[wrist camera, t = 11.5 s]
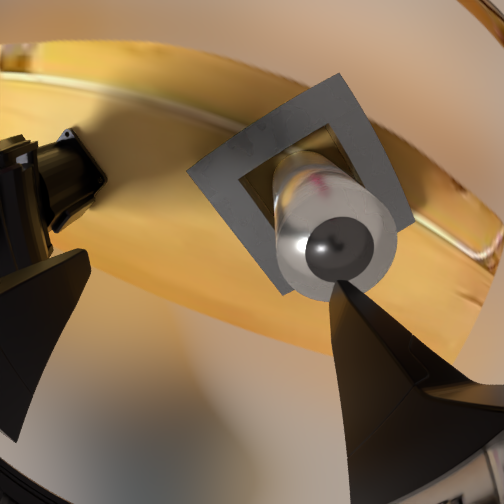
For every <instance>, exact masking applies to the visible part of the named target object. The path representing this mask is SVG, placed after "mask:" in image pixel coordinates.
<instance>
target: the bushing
mask: <svg viewBox="0 0 504 504" xmlns="http://www.w3.org/2000/svg"><path fill="white" fill-rule="evenodd" d="M272 186H273V201H274V218H275V235H276V254H277V261H278V266H279V268H280V271H281V273H282V275H283V277H284V278H285V280H286V281H287V283H288V284H289V285H290V286H291V287H292V288H293V289H295V290H296V291H297V292H299V293H300V294H302V295H304V296H306V297H308V298H311V299H314V300H318V301H324V302H329V301H330V297H331V294H332V290H333V287H334V284H335V281H336V280H348V281H349V282H350V283H352V284H353V285H354V286H355V287H357V288H358V289H359V290H360V291H362V292H363V293H365V292H367V291H368V290H370V289H371V288H372V287H374V286H375V285H376V284H377V283H378V282H379V281H380V280H381V279H382V278H383V277H384V275H385V274H386V273H387V271H388V269H389V268H390V266H391V264H392V262H393V259H394V256H395V253H396V248H397V230H396V226H395V222H394V220H393V218H392V215H391V214H390V212H389V211H388V209H387V208H386V207H385V206H384V204H383V203H382V202H380V201H379V200H378V199H377V198H376V197H375V196H373V195H372V194H371V193H370V192H369V191H367V190H366V189H365V188H364V187H363V186H361V185H360V184H359V183H358V182H356V181H355V180H354V179H353V178H351V177H350V176H349V175H348V174H346V173H345V172H344V171H342V170H341V169H340V168H339V167H337V166H336V165H335V164H333V163H332V162H331V161H329V160H328V159H327V158H325V157H324V156H322V155H320V154H318V153H315V152H311V151H300V152H296V153H293V154H290V155H289V156H287V157H286V158H284V159H283V160H282V161H281V162H280V163H279V165H278V166H277V168H276V170H275V172H274V175H273V181H272Z"/></svg>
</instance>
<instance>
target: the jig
mask: <svg viewBox="0 0 504 504" xmlns="http://www.w3.org/2000/svg"><path fill="white" fill-rule="evenodd" d="M322 126H325V128H326V129H327V131H328V132H329V134H330V136H331V137H332V139H333V141H334V142H335V144H336V146H337V147H338V149H339V151H340V152H341V154H342V156H343V158H344V159H345V161H346V163H347V165H348V166H349V168H350V170H351V172H352V174H353V175H354V177H355V179H356V181H357V182H358V183H359V184H360V185H361V186H363V187H364V188H365V189H366V190H367V191H369V192H370V193H371V194H372V195H373V196H375V197H376V198H377V199H378V200H379V201H380V202H382V203H383V204H384V206H385V207H386V208H387V209H388V211H389V212H390V214H391V215H392V218H393V220H394V222H395V226H396V230H397V233H398V232H399V231H401V230H403V229H404V228H406V227H408V226H409V225H411V224H413V223H414V222H415V219H414V217H413V214H412V212H411V209H410V206H409V204H408V201H407V199H406V196H405V194H404V192H403V189H402V187H401V185H400V182H399V180H398V178H397V176H396V173H395V171H394V169H393V167H392V165H391V163H390V161H389V158H388V156H387V154H386V152H385V150H384V148H383V146H382V144H381V142H380V140H379V139H378V137H377V135H376V133H375V131H374V129H373V127H372V126H371V124H370V122H369V120H368V118H367V117H366V115H365V113H364V112H363V110H362V108H361V106H360V105H359V103H358V101H357V100H356V98H355V96H354V95H353V93H352V92H351V90H350V89H349V87H348V85H347V84H346V82H345V81H344V79H343V78H342V76H341V75H340V73H338V74H336V75H334V76H332V77H331V78H328V79H326V80H325V81H323V82H321V83H319V84H318V85H315V86H314V87H312V88H310V89H308V90H306V91H305V92H303V93H301V94H300V95H298V96H296V97H294V98H293V99H291V100H289V101H288V102H286V103H284V104H283V105H281V106H279V107H278V108H276V109H275V110H273V111H271V112H270V113H268V114H267V115H265V116H263V117H262V118H260V119H259V120H257V121H256V122H254V123H253V124H251V125H250V126H248V127H247V128H245V129H244V130H242V131H241V132H239V133H238V134H236V135H235V136H233V137H232V138H231V139H229V140H228V141H226V142H225V143H223V144H222V145H221V146H219V147H218V148H216V149H215V150H214V151H212V152H211V153H210V154H208V155H207V156H205V157H204V158H203V159H201V160H200V161H199V162H197V163H196V164H195V165H193V166H192V167H191V168H190V169H188V170H187V171H186V172H187V173H188V174H189V176H190V177H191V178H192V179H193V181H194V182H195V183H196V185H197V186H198V187H199V189H200V190H201V191H202V192H203V194H204V195H205V196H206V198H207V199H208V200H209V201H210V203H211V204H212V205H213V207H214V208H215V209H216V211H217V212H218V213H219V214H220V216H221V217H222V218H223V220H224V221H225V222H226V223H227V225H228V226H229V227H230V229H231V230H232V231H233V232H234V234H235V235H236V236H237V238H238V239H239V240H240V241H241V243H242V244H243V245H244V247H245V248H246V249H247V251H248V252H249V253H250V254H251V256H252V257H253V258H254V260H255V261H256V262H257V263H258V265H259V266H260V267H261V269H262V270H263V271H264V272H265V274H266V275H267V276H268V278H269V279H270V280H271V281H272V283H273V284H274V285H275V287H276V288H277V289H278V290H279V292H280V293H281V294H282V296H283V295H285V294H287V293H289V292H291V291H293V290H295V289H293V288H292V287H291V286H290V285H289V284H288V283H287V281H286V280H285V278H284V277H283V275H282V273H281V271H280V268H279V266H278V261H277V254H276V235H275V218H274V216H273V215H272V214H271V212H270V211H269V209H268V208H267V206H266V205H265V204H264V202H263V201H262V199H261V198H260V197H259V195H258V194H257V192H256V191H255V190H254V188H253V187H252V185H251V184H250V183H249V181H248V180H247V179H246V177H245V176H244V175H245V174H247V173H248V172H250V171H251V170H253V169H254V168H256V167H257V166H259V165H260V164H262V163H264V162H265V161H267V160H268V159H270V158H271V157H273V156H275V155H276V154H278V153H279V152H281V151H282V150H284V149H286V148H287V147H289V146H291V145H292V144H294V143H295V142H297V141H299V140H300V139H302V138H304V137H305V136H307V135H309V134H310V133H312V132H314V131H315V130H317V129H319V128H321V127H322Z"/></svg>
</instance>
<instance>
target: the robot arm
mask: <svg viewBox="0 0 504 504" xmlns="http://www.w3.org/2000/svg"><path fill="white" fill-rule="evenodd" d="M68 132H69V136H68ZM100 177H101V178H102V181H101V180H100ZM106 182H107V177H106V175H105V174H104V172H103V171H102V170H101V168H100V167H99V166H98V164H97V163H96V162H95V160H94V159H93V157H92V156H91V155H90V153H89V152H88V151H87V149H86V148H85V146H84V145H83V144H82V142H81V141H80V139H79V138H78V137H77V135H76V134H75V132H74V131H73V129H71V128H69V129H66V130H64V132H63V133H62V134H61V136H60V137H59V139H58V140H57V141H56V142H54V143H50V144H47V145H44V146H41V147H38V141H34V142H30V140H25V138H24V137H23V135H22V134H21V135H17V136H13V137H10V138H6V139H3V140H0V432H1V433H3V434H4V435H5V436H6V437H8V438H9V439H11V440H12V441H13V442H15V443H16V442H17V441H18V438H19V434H20V431H21V429H22V425H23V423H24V420H25V417H26V414H27V411H28V408H29V406H30V403H31V400H32V398H33V394H34V392H35V390H36V387H37V385H38V383H39V380H40V378H41V376H42V373H43V371H44V369H45V366H46V364H47V362H48V360H49V358H50V356H51V353H52V351H53V349H54V347H55V345H56V343H57V341H58V339H59V337H60V335H61V333H62V331H63V329H64V327H65V325H66V323H67V322H68V320H69V318H70V316H71V314H72V312H73V311H74V309H75V307H76V305H77V303H78V301H79V298H80V296H81V294H82V292H83V289H84V287H85V285H86V283H87V281H88V279H89V277H90V274H91V266H90V261H89V256H88V252H87V251H86V250H85V249H79V248H77V249H74V250H71V251H68V252H65V253H63V254H60V255H57V256H55V257H52V258H49V257H50V256H51V254H52V252H53V246H52V244H51V242H50V238H49V233H48V232H50V231H51V230H53V231H54V233H59V232H60V231H62V230H63V229H64V228H66V227H67V226H68V225H70V224H71V223H72V222H74V221H75V220H77V219H78V218H79V217H81V216H82V215H83V214H84V213H85V211H86V210H87V209H88V208H89V207H90V206H91V205H92V204H93V202H94V201H95V195H96V193H97V192H98V191H99V190H100V189H101V188H102V187H103V186H104V185H105V184H106ZM329 312H330V328H331V344H332V350H333V356H334V362H335V368H336V374H337V381H338V388H339V393H340V401H341V408H342V416H343V424H344V432H345V441H346V450H347V457H348V458H347V461H348V473H349V486H350V500H351V504H504V385H485V384H480V383H477V382H474V381H472V380H470V379H469V378H467V377H466V376H465V375H464V374H462V373H461V372H460V371H458V370H457V369H456V368H454V367H453V366H452V365H450V364H449V363H448V362H446V361H445V360H444V359H442V358H441V357H440V356H439V355H437V354H436V353H435V352H433V351H432V350H431V349H430V348H428V347H427V346H426V345H425V344H424V343H422V342H421V341H420V340H419V339H418V338H417V337H415V336H414V335H412V333H411V332H410V331H408V330H407V329H406V328H405V327H404V326H403V325H401V324H400V323H399V322H398V321H397V320H395V319H394V318H393V317H392V316H391V315H389V314H388V313H387V312H386V311H385V310H383V309H382V308H381V307H380V306H379V305H377V304H376V303H375V302H374V301H373V300H371V299H370V298H369V297H368V296H367V295H365V294H364V293H363V292H362V291H360V290H359V289H358V288H357V287H355V286H354V285H353V284H352V283H350V282H349V281H348V280H336V281H335V284H334V287H333V290H332V294H331V297H330V301H329ZM0 504H73V503H71V502H69V501H67V500H65V499H64V498H61V497H60V496H58V495H56V494H54V493H53V492H51V491H49V490H48V489H46V488H44V487H43V486H41V485H39V484H38V483H36V482H35V481H33V480H31V479H30V478H28V477H27V476H25V475H24V474H22V473H21V472H20V471H18V470H17V469H15V468H14V467H13V466H11V465H10V464H8V463H7V462H6V461H5V460H3V459H2V458H1V457H0Z"/></svg>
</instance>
